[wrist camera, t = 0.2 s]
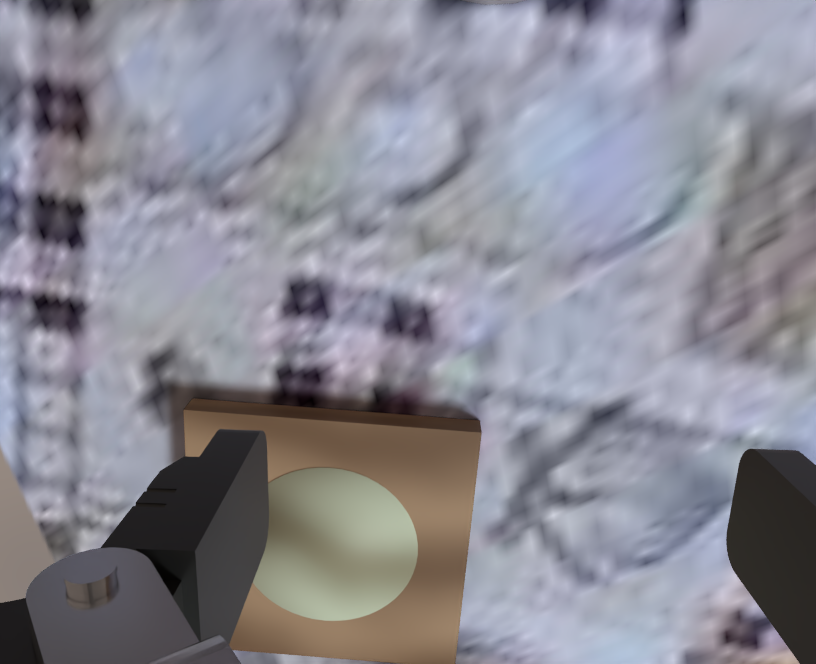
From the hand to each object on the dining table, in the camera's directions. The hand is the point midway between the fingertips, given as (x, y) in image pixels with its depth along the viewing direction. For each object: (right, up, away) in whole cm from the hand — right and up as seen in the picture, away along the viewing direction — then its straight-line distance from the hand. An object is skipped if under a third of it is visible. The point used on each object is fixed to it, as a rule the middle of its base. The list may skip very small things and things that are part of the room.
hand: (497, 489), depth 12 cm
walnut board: (-5, -7, +21) cm, 23 cm away
